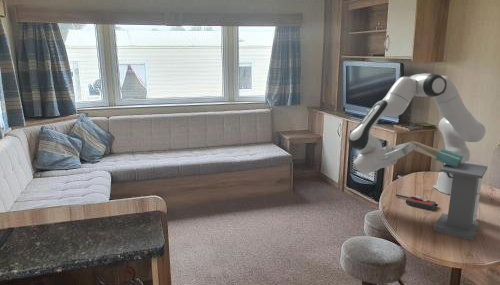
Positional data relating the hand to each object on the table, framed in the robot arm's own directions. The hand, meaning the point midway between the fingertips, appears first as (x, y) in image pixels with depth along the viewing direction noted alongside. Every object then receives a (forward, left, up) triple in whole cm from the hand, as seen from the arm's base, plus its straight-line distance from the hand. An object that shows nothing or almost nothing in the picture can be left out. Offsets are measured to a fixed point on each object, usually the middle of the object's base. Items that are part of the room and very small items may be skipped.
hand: (417, 145), depth 161 cm
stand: (+2, +19, -32) cm, 37 cm away
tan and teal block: (0, +6, -4) cm, 7 cm away
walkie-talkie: (-16, -2, -33) cm, 36 cm away
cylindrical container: (-12, +20, -32) cm, 40 cm away
